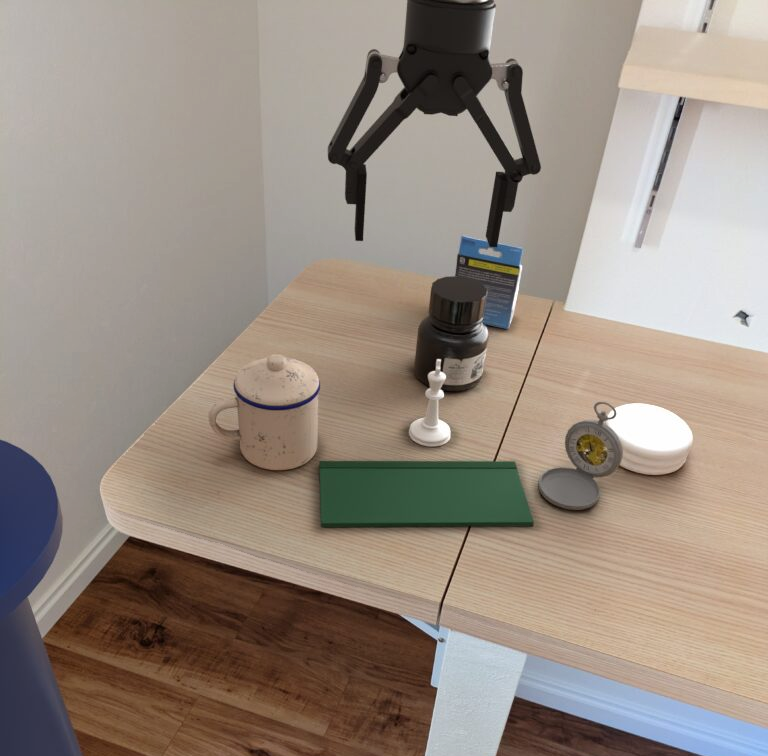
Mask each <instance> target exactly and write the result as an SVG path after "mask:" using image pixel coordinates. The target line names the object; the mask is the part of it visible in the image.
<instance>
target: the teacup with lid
mask: <svg viewBox="0 0 768 756" xmlns="http://www.w3.org/2000/svg"><path fill="white" fill-rule="evenodd" d="M320 390H321V381H320V378H319V376H318V374H317V373H316V371H315V370H314V369H313V368H312V367H311V366H310V365H308V364H306V363H305V362H303V361H301V360H298V359H294V358H289V357H285V356H284V355H283V354H279V353H273V354H271V355H269V356H267V357H263V358H260V359H256V360H253V361H250V362H249V363H247V364H245V365H244V366H242V367H241V368H240V369H239V371H238V372H237V373H236V375H235V377H234V380H233V391H234V393H235V396H236V397H228V398H224V399H221V400H218V401H216V402H215V403H214V404H213V405H212V406H211V407H210V409H209V411H208V423H209V425H210V428H211V429H212V431H213V432H214V433H215V435H217V436H218V437H220V438H221V439H224V440H229V441H232V440H233V441H235V440H237V441H238V440H239V447H240V452H241V454H242V456H243V457H244V458H245V460H246V461H248V462H249V463H250V464H252V465H254V466H255V467H258V468H261V469H265V470H270V471H287V470H292V469H295V468H299V467H301V466H303V465H305V464H307V463H308V462H310V460H312V458H313V457H314V456H315V455H316V453H317V450H318V442H319V441H318V438H319V437H318V435H319V433H318V431H319V429H318V428H319V416H318V415H319V392H320ZM232 408H233V409H235V408H236V409H237V421H238V429H231V430H230V429H225V428H223V427H221V426H220V425H219V424H218V423H217V417H218V415H219V414H220V413H221V412H222V411H225V410H227V409H228V410H229V409H232Z"/></svg>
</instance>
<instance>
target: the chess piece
mask: <svg viewBox="0 0 768 756" xmlns="http://www.w3.org/2000/svg"><path fill="white" fill-rule="evenodd" d="M440 365H441V359H437V361H436V371H432V372H430V373H429V374H428V380H429V383H430V386H429V388H427V389H426V390H425V392H424V393H425V394H424V395H425V397H426V398H428V405H427V409H426V411H425V416H424V417H420V418H417V419H415V420H413V421H412V422H411V424H410V425H409V429H408V436H409V437H410V439H411V440H412V441H413V442H415V443H416V444H418V445H421V446H424V447H429V448H430V447H434V448H435V447H440V446H443V445H445V444H447V443H448V442H449V441H450V440H451V428H450V426H449V425H448V423H447V422H445V421H443V420H442V419H439V401H440V400H442V399H443V398H444V397H445V393H444V390H441V387H442V384H443V383H444V381H445V379H446V375H445V374H444V373H443V372H440Z"/></svg>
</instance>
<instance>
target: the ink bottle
mask: <svg viewBox="0 0 768 756" xmlns="http://www.w3.org/2000/svg"><path fill="white" fill-rule="evenodd" d="M486 298H487V289H486V288H485V286H484V285H483V284H481V283H479V282H478V281H476V280H473V279H470V278H467V277H459V276H455V275H454V276H452V275H451V276H443V277H440V278H437V279H436V280H435V281H433V282H432V283H431V287H430V296H429V303H428V315H427V316H425V317H424V318H423V319H422V320H421V322H419V325H418V328H417V334H416V336H417V337H416V344H415V345H416V346H415V354H414V365H413V372H414V374H415V376H416V377H417V378H418V379H419V380H420V381H421V382H422V383H423V384H425V385H427V386H429V387H430V383H429V380H428V374H429V373H430V372H432V371H436V361H437V359H441V365H440V372H443V373H444V374H445V375H446V379H445V381H444V383H443V384H442V387H441V390H442V391H446V392H459V391H460V392H461V391H466V390H468V389H471V388H473V387H474V386H476V385H477V384H478V383H479V382H480V381H481V379H482V377H483V374H484V367H485V362H486V355H487V351H488V343H489V336H490V335H489V329H488V327H487V325H486V324H484V323H483V322H482V320H483V316H484V310H485V304H486Z"/></svg>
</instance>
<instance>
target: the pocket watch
mask: <svg viewBox="0 0 768 756" xmlns="http://www.w3.org/2000/svg"><path fill="white" fill-rule="evenodd" d="M599 405H606V406H608V407H609V408H611V409H612V410H613V411H614V415H613V416H612V417H608V414H607V411H606V410H601V412H599V411H598V409H597V407H598V406H599ZM615 408H616V407H614V406H613V405H612V404H610V403H609V402H606V401H598V402H596V403H594V405H593V410H594V413H595V414H596V417H597V419H598V420H597V419H583V420H580V421H577V422H576V423H574V424H572V425H571V427H569V429H568V430H567V432H566V435H565V437H564V447H565V452H566V454H567V456H568V459H569V461H570V462H571V463H572V464H573V466H574V467H575V468H574V467H567V466H558V467H557V466H556V467H553V468H549V469H546V470H545V471H544V472H543V473H541V475H540V477H539V479H538V490H539V492H540V494H541V495H542V497H543V498H545V500H547V502H550V503H551V504H553V505H554V506H556V507H559V508H562V509H564V510H571V511H572V510H573V511H576V510H577V511H578V510H579V511H580V510H584V509H589V508H591V507H592V506H594V505H595V504H597V502H598V501H599V499H600V496H601V487H600V485H599V484H598V482H597V481H596V479H594V478H604V477H608V476H610V475H612V474H613V473H614V472H615V471H616V470H617V469H618V468H619V467H620V463H621V460H622V457H623V449H622V445H621V441H620V440H619V438H618V436H617V434H616V433H615V432H614V431H613V430H612V429H611V428H610V427H609V426H608V425H606V424H605V421H607V420H611V419H614V418H615V417H616V414H617V413H616V410H615ZM603 447H606V449H607V451H606V449H605V448H604V449H605V450H603ZM604 457H606V459H605V458H604Z"/></svg>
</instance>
